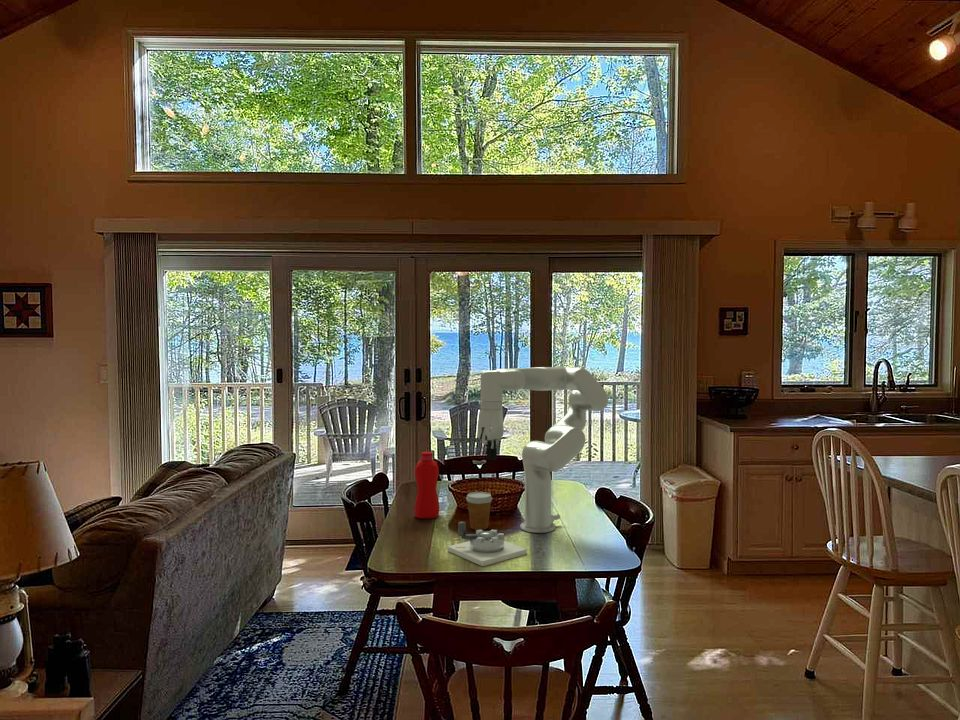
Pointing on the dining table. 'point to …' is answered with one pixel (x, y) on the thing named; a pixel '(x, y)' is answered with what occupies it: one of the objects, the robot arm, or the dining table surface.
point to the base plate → (487, 558)
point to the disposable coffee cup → (479, 509)
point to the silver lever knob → (482, 539)
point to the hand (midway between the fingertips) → (491, 459)
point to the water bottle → (426, 487)
